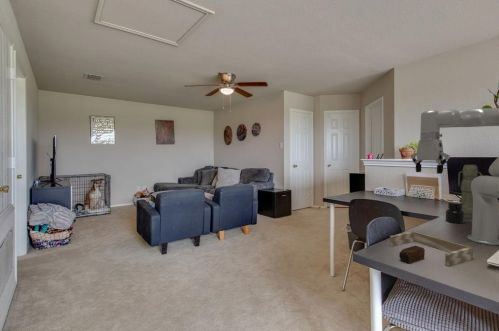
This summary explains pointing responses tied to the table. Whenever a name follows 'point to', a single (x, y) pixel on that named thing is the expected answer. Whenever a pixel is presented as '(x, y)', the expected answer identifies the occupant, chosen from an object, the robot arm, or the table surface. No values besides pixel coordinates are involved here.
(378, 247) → the table surface
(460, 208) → the ink bottle
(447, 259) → the beige u-shaped frame
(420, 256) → the brick
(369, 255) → the table surface
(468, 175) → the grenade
